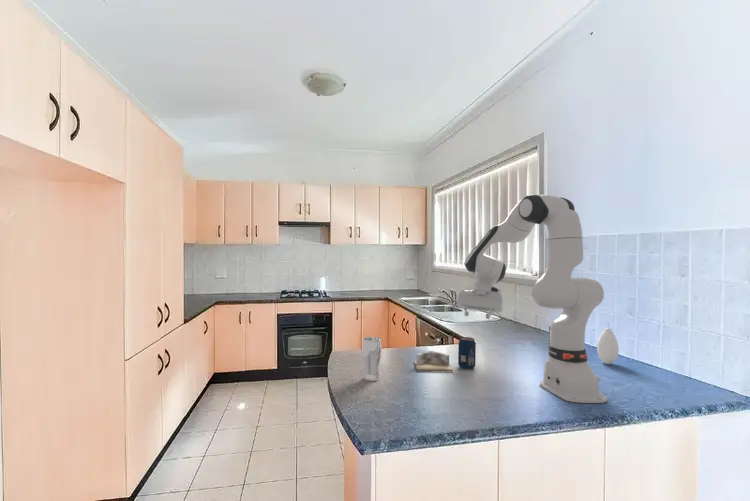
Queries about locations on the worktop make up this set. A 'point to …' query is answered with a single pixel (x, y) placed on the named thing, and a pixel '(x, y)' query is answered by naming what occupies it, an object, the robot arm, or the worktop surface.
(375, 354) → the beer glass
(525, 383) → the worktop surface
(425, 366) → the napkin holder
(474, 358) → the soda can
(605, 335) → the white tall egg shape
